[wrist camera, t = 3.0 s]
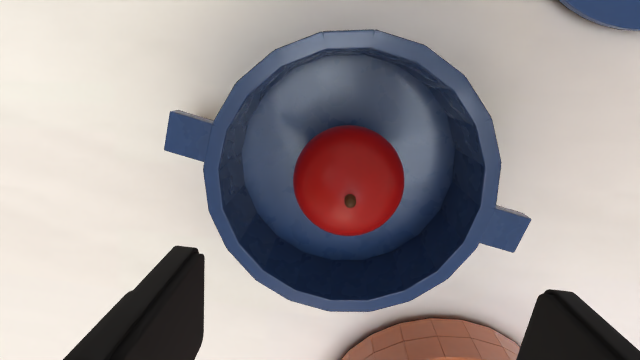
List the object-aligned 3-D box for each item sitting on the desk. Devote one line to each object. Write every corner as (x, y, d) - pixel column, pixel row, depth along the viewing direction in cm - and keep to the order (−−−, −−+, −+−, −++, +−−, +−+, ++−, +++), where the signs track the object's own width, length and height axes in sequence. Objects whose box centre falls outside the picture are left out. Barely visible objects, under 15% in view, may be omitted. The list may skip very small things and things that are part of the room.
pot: (221, -6, 22) (184, -31, 17) (543, 96, 23) (605, 101, 17) (179, 223, 27) (141, 259, 21) (445, 300, 27) (470, 351, 22)
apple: (314, 106, 23) (303, 119, 16) (408, 135, 23) (440, 160, 16) (288, 196, 25) (269, 243, 18) (376, 221, 25) (391, 278, 18)
